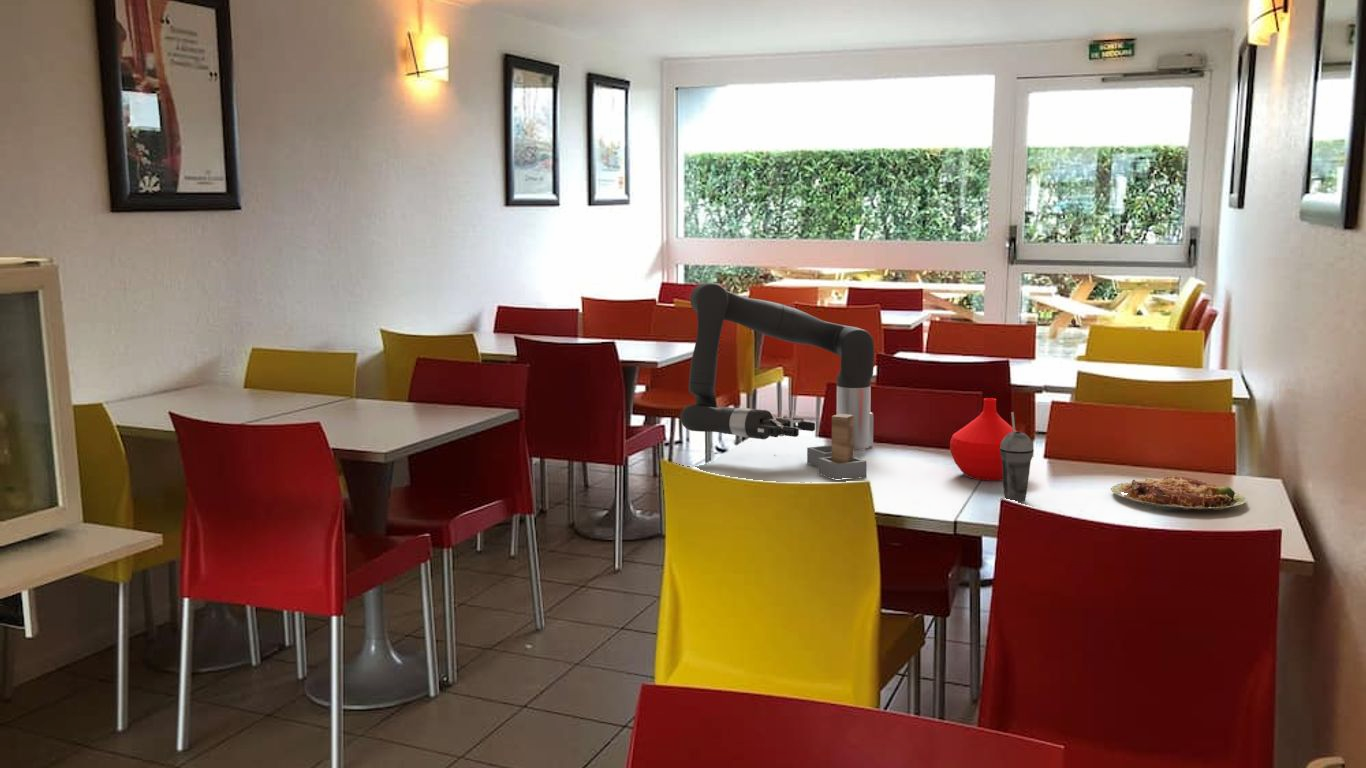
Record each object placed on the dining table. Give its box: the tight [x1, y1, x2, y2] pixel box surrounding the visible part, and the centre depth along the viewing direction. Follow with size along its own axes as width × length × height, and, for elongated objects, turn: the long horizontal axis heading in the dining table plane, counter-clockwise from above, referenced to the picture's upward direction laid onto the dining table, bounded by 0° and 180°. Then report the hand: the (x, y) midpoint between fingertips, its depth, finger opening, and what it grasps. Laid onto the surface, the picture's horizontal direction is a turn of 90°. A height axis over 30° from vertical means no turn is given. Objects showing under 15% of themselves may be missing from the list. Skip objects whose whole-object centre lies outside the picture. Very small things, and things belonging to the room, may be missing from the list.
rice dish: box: [1110, 475, 1247, 511], centre depth 246 cm, size 28×28×5 cm
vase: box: [949, 397, 1019, 482], centre depth 269 cm, size 18×18×19 cm
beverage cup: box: [1000, 411, 1034, 503], centre depth 246 cm, size 7×7×20 cm
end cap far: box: [806, 444, 832, 468], centre depth 285 cm, size 8×8×4 cm
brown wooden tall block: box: [831, 413, 854, 464], centre depth 271 cm, size 4×4×14 cm
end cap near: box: [817, 456, 868, 482], centre depth 272 cm, size 8×8×4 cm
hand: (806, 429), depth 277 cm, fingers open, 8 cm apart
